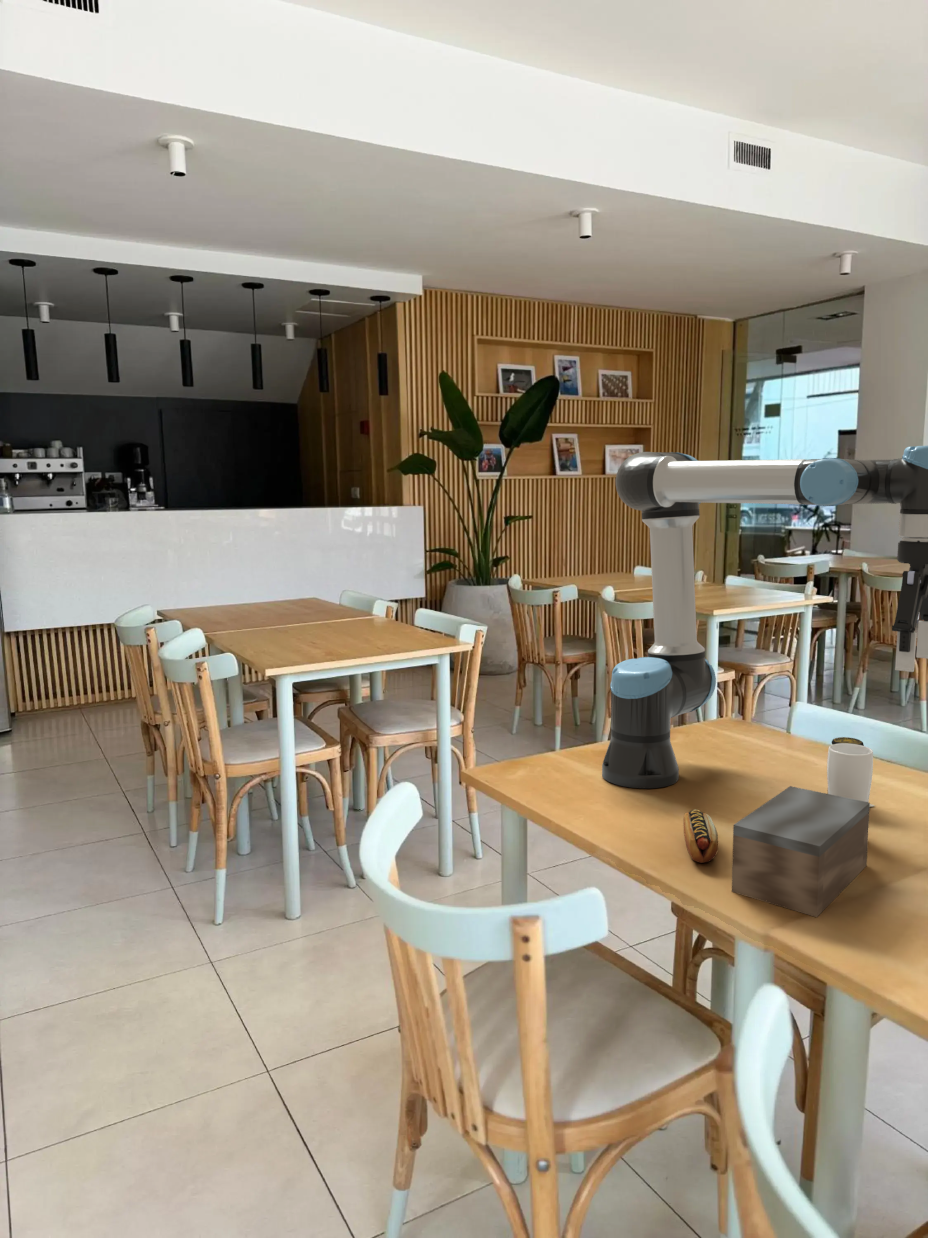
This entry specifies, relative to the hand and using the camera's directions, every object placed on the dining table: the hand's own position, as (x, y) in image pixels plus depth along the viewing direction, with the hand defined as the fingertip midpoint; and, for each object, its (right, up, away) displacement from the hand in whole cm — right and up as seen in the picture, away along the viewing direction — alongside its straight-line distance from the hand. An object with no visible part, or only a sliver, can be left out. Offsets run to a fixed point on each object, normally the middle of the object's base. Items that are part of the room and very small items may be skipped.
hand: (915, 664), depth 148 cm
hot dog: (-39, -30, -10) cm, 50 cm away
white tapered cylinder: (-14, -28, -5) cm, 32 cm away
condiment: (-8, -26, +10) cm, 29 cm away
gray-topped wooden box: (-27, -31, -20) cm, 46 cm away
